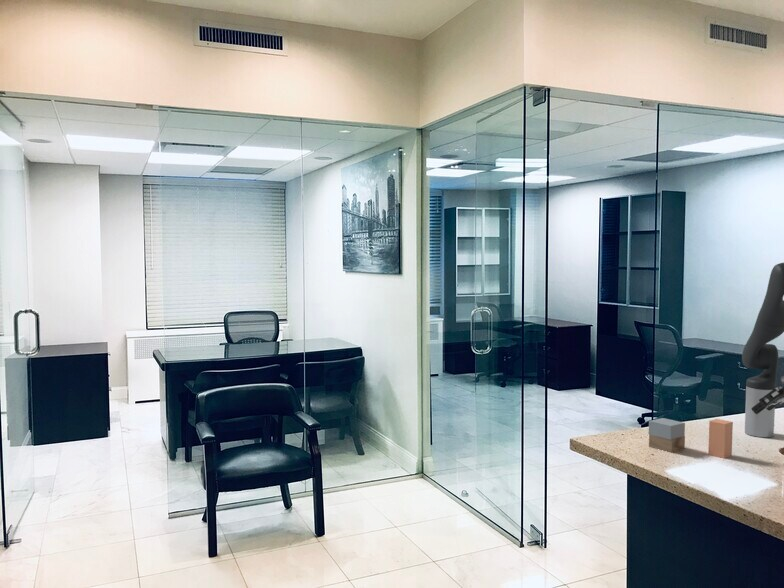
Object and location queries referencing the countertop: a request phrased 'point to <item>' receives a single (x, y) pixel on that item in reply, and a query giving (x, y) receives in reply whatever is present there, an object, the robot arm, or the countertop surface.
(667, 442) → the tower bottom slab
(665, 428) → the tower top slab
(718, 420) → the pillar
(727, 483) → the countertop surface
